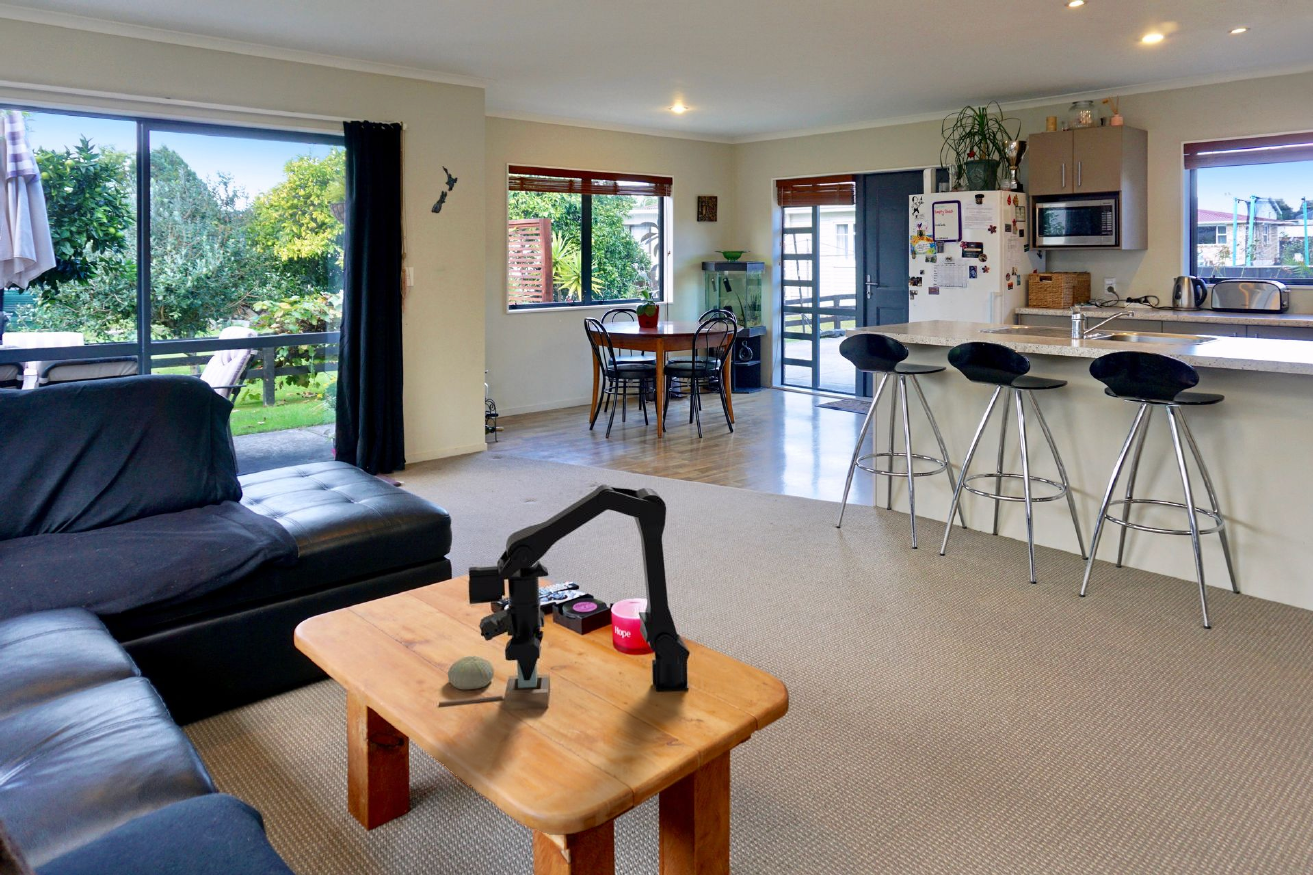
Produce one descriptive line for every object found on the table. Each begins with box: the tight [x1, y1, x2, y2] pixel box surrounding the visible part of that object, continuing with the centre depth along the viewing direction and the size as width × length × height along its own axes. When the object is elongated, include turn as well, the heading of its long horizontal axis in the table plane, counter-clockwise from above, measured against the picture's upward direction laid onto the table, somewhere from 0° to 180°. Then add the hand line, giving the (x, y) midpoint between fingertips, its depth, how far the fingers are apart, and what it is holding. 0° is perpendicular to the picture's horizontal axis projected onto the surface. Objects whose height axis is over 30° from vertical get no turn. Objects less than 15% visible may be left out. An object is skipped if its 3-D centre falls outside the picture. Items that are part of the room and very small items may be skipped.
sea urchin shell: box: [447, 655, 495, 690], centre depth 189 cm, size 9×8×8 cm
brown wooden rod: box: [438, 695, 504, 707], centre depth 181 cm, size 12×1×1 cm, turn 101°
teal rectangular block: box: [516, 660, 538, 688], centre depth 180 cm, size 3×3×8 cm
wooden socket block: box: [504, 673, 551, 711], centre depth 181 cm, size 8×8×3 cm
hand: (527, 675), depth 180 cm, fingers closed on teal rectangular block, 3 cm apart
